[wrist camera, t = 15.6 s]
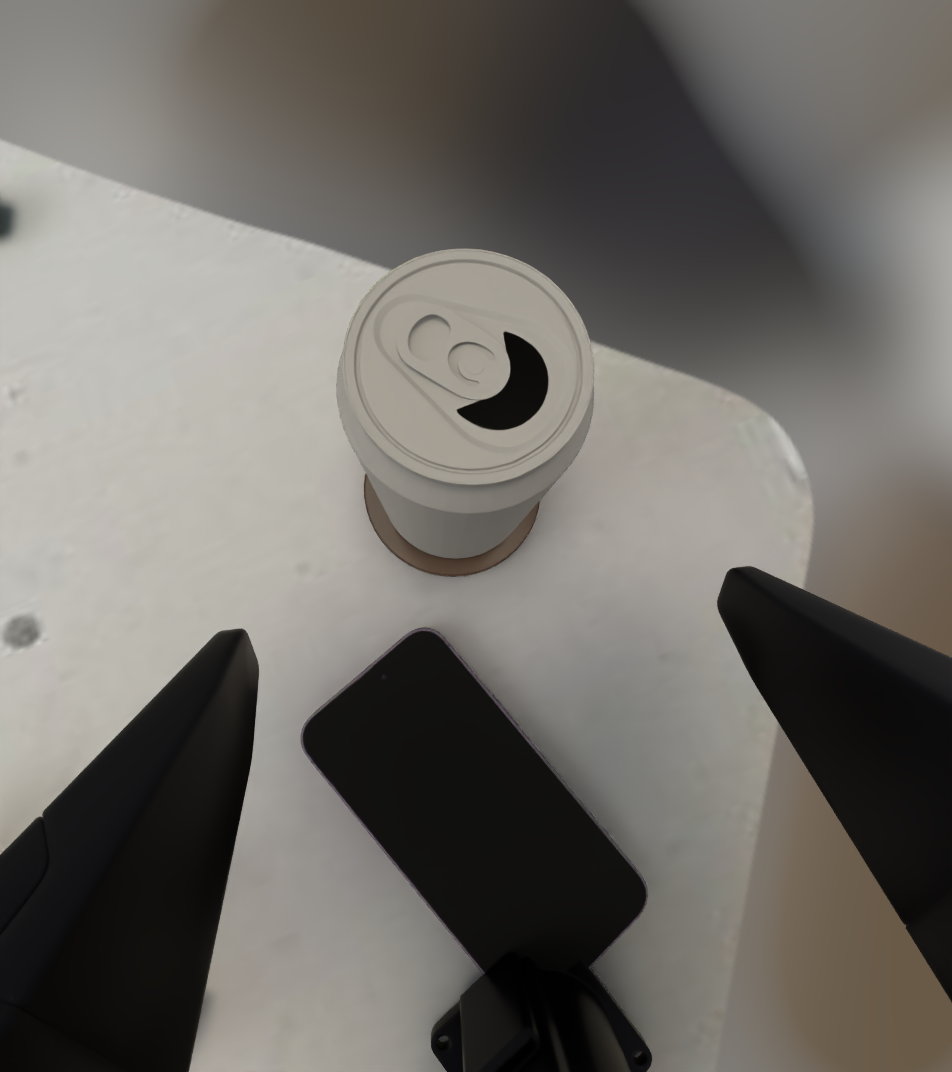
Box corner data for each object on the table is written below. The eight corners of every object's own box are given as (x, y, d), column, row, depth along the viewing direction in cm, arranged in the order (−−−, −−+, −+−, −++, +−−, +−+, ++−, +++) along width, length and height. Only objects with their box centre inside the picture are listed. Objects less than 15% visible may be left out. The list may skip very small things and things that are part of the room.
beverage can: (482, 586, 23) (530, 556, 11) (355, 515, 23) (265, 406, 11) (548, 466, 24) (660, 317, 12) (428, 398, 24) (418, 182, 12)
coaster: (572, 506, 24) (575, 504, 23) (436, 612, 23) (436, 612, 22) (468, 377, 25) (468, 371, 24) (330, 473, 23) (327, 470, 23)
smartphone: (528, 1033, 20) (287, 735, 21) (523, 1010, 21) (294, 728, 22) (660, 896, 21) (427, 616, 22) (648, 881, 22) (427, 615, 23)
